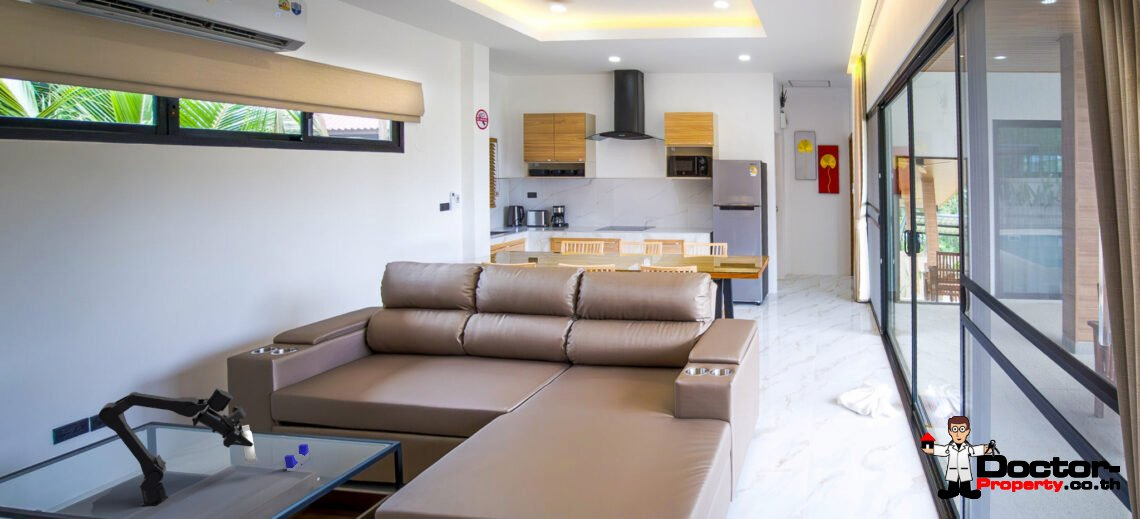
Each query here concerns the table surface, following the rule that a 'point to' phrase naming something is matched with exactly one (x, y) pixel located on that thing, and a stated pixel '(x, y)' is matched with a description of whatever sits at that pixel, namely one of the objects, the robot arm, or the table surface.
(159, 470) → the robot arm
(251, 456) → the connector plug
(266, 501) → the table surface
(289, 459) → the blue blocks
